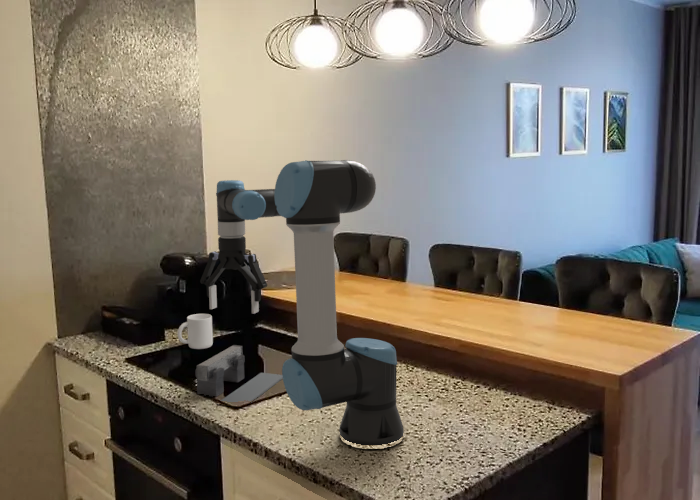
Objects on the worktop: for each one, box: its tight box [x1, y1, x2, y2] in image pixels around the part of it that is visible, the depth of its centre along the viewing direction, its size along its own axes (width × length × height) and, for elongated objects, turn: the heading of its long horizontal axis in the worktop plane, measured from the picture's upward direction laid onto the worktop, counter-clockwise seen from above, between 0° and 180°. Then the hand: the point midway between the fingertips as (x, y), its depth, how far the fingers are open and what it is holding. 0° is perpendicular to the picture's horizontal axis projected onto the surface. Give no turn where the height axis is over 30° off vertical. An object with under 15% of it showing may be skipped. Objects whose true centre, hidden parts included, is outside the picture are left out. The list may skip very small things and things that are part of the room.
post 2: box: [223, 354, 246, 384], centre depth 202 cm, size 4×7×7 cm, turn 70°
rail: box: [196, 344, 244, 381], centre depth 195 cm, size 20×3×4 cm, turn 160°
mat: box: [220, 372, 283, 402], centre depth 193 cm, size 26×8×1 cm, turn 160°
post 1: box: [194, 368, 225, 398], centre depth 190 cm, size 4×7×7 cm, turn 71°
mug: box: [177, 313, 214, 350], centre depth 234 cm, size 12×8×10 cm
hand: (234, 310), depth 195 cm, fingers open, 13 cm apart
